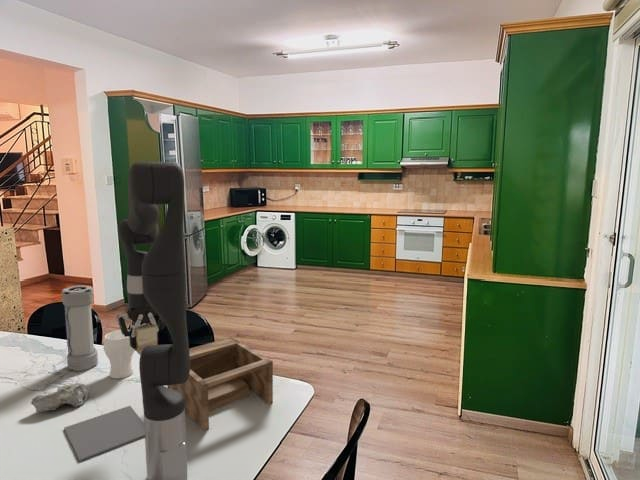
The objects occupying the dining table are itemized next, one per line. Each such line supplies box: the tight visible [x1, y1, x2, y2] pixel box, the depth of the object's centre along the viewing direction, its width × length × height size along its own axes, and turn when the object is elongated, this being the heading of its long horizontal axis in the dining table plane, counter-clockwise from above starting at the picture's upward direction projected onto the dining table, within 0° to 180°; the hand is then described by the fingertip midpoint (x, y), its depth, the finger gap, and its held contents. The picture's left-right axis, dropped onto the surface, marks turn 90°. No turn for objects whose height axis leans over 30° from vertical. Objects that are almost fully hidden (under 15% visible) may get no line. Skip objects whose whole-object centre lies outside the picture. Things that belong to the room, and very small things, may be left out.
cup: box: [103, 329, 136, 380], centre depth 153 cm, size 11×11×15 cm
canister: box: [61, 284, 99, 372], centre depth 158 cm, size 10×10×30 cm
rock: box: [30, 382, 90, 413], centre depth 132 cm, size 16×7×7 cm, turn 135°
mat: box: [63, 405, 145, 463], centre depth 120 cm, size 18×18×1 cm
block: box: [134, 323, 159, 356], centre depth 122 cm, size 7×5×7 cm
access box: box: [166, 336, 274, 432], centre depth 138 cm, size 26×24×14 cm
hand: (144, 345), depth 123 cm, fingers closed on block, 5 cm apart
